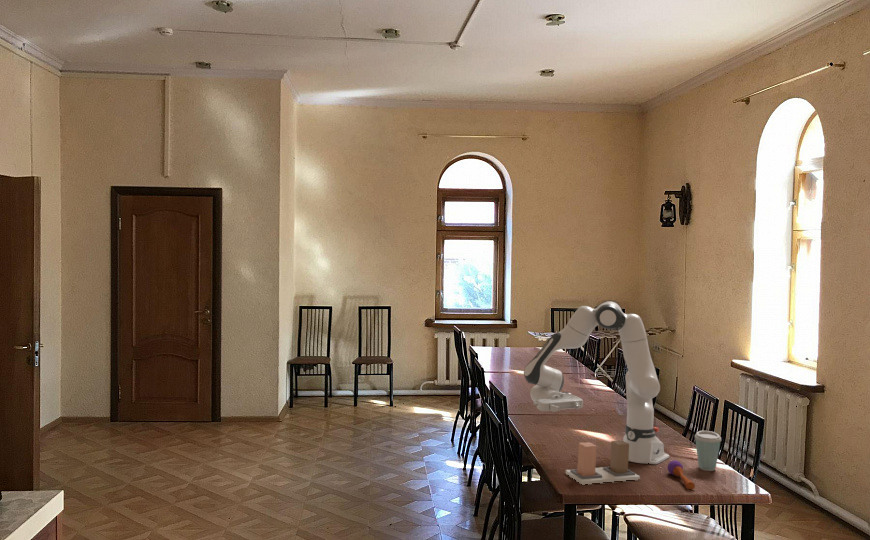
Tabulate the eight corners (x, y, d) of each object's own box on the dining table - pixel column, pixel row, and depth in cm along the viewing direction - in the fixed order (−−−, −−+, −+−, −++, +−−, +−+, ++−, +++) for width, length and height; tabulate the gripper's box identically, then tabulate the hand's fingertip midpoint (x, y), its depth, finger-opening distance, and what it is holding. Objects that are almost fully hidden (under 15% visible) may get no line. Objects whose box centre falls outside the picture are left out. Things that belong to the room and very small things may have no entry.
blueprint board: (621, 469, 288) (622, 437, 288) (639, 480, 276) (641, 446, 275) (565, 473, 280) (567, 440, 279) (582, 485, 268) (583, 450, 267)
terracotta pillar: (588, 471, 279) (589, 442, 278) (594, 475, 274) (596, 445, 273) (577, 472, 277) (578, 442, 277) (583, 476, 272) (585, 446, 272)
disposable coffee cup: (722, 474, 287) (724, 438, 287) (694, 471, 289) (696, 435, 289) (717, 466, 298) (719, 431, 297) (690, 463, 300) (692, 429, 299)
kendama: (682, 480, 267) (664, 459, 287) (683, 494, 268) (666, 472, 287) (697, 477, 267) (679, 457, 287) (699, 492, 268) (680, 470, 287)
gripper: (531, 395, 302) (546, 402, 289) (573, 392, 308) (589, 399, 295) (531, 409, 302) (546, 417, 289) (573, 406, 309) (589, 413, 296)
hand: (568, 408), depth 292 cm, fingers open, 8 cm apart
